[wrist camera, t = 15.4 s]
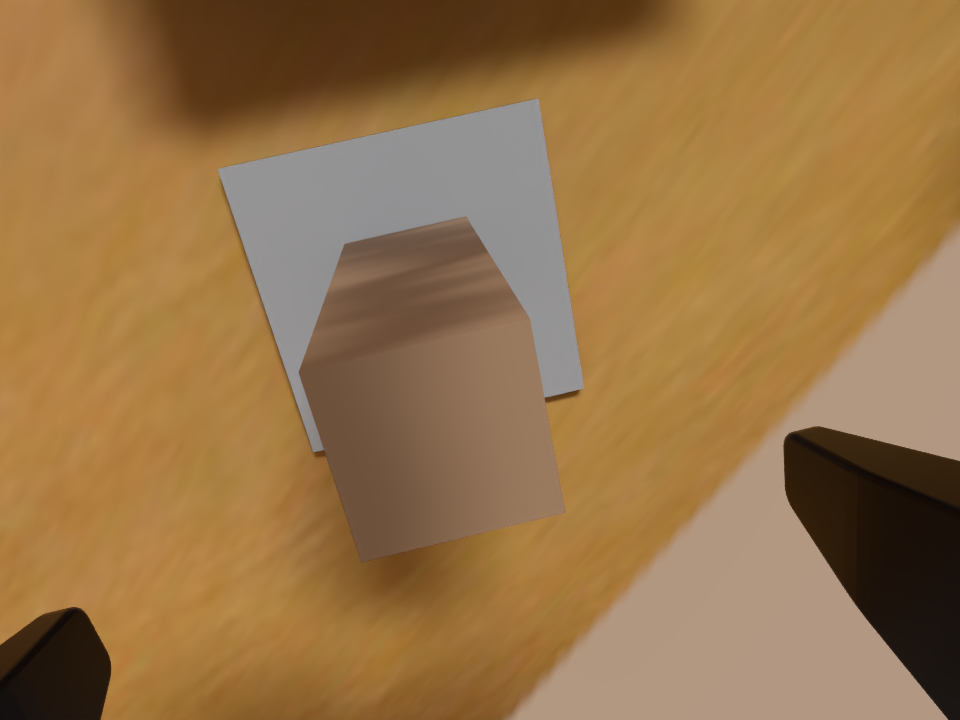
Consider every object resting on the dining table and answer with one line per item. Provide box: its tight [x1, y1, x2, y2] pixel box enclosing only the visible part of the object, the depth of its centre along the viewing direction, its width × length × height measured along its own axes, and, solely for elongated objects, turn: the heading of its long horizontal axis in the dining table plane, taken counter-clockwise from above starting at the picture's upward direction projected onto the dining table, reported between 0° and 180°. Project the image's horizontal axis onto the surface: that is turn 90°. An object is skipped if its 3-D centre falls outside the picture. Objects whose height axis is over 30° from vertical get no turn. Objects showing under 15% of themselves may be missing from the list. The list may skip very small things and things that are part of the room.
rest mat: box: [218, 99, 584, 452], centre depth 20 cm, size 9×9×1 cm
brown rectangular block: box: [298, 216, 566, 562], centre depth 16 cm, size 4×4×10 cm
